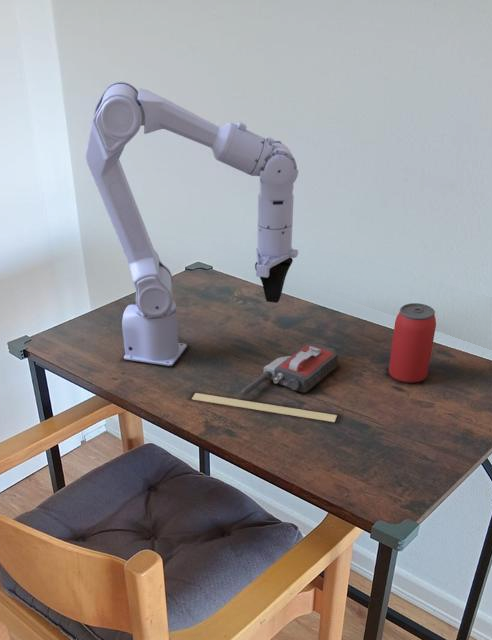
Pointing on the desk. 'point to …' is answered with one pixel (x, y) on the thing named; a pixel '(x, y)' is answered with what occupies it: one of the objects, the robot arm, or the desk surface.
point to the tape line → (265, 407)
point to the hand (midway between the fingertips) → (272, 300)
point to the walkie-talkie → (299, 368)
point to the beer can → (412, 343)
